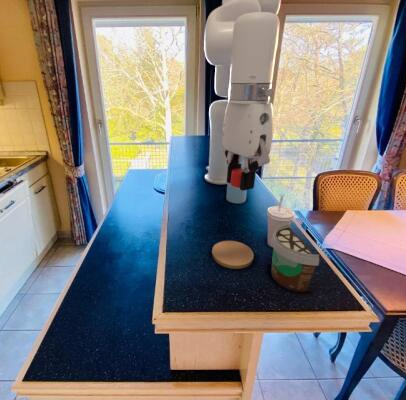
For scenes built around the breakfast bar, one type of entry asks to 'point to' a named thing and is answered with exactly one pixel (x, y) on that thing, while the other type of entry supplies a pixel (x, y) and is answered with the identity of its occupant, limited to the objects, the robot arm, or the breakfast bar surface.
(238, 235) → the breakfast bar surface
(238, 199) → the bottle
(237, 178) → the cap
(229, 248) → the coaster
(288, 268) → the food container
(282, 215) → the smoothie
